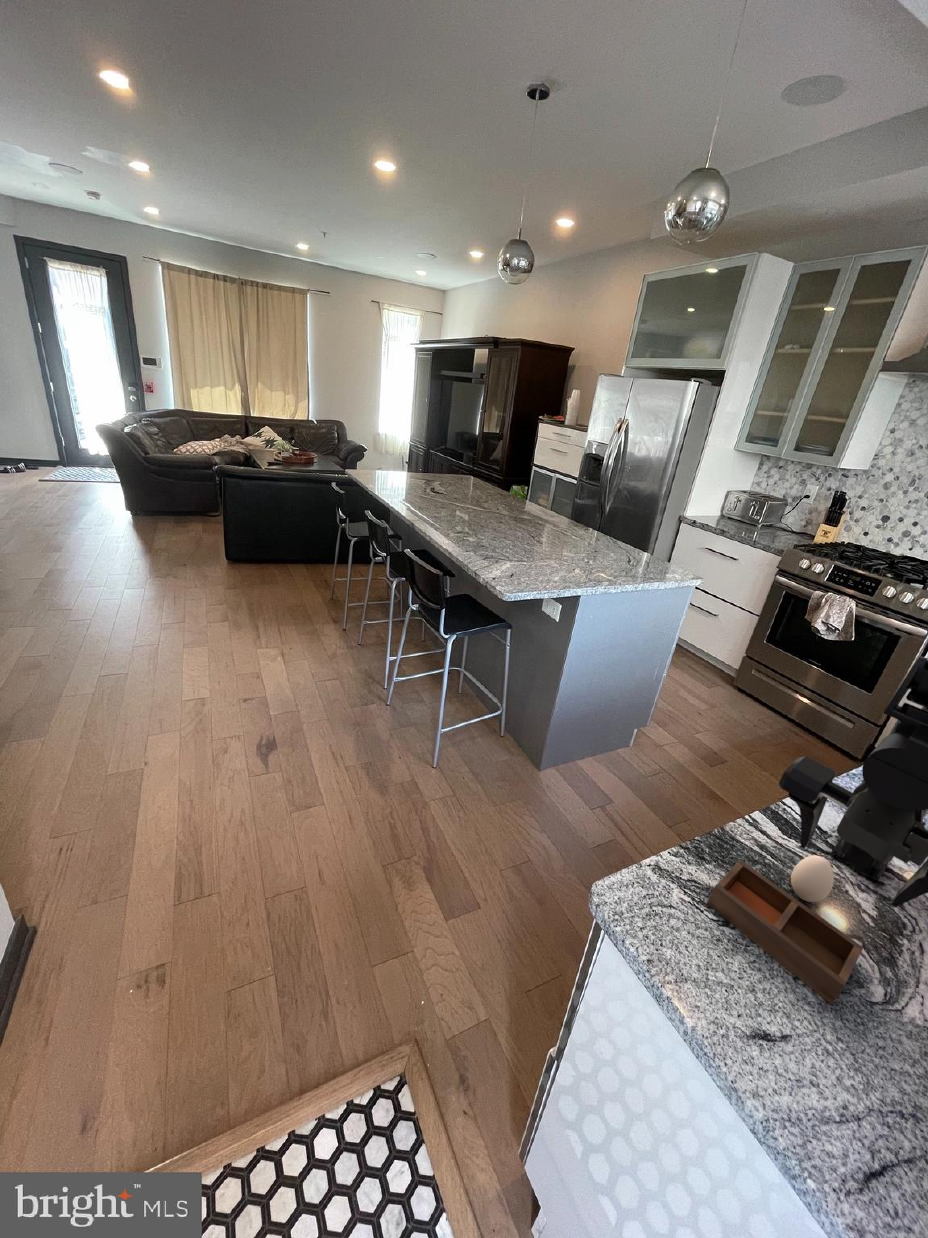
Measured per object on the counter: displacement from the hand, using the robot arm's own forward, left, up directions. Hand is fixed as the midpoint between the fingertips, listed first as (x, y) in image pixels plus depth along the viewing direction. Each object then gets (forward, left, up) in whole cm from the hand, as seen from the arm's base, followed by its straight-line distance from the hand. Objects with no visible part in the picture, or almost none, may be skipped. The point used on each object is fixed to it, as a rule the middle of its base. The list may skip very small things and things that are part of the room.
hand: (846, 874), depth 59 cm
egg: (-11, -3, -15) cm, 18 cm away
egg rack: (-1, -3, -14) cm, 15 cm away
